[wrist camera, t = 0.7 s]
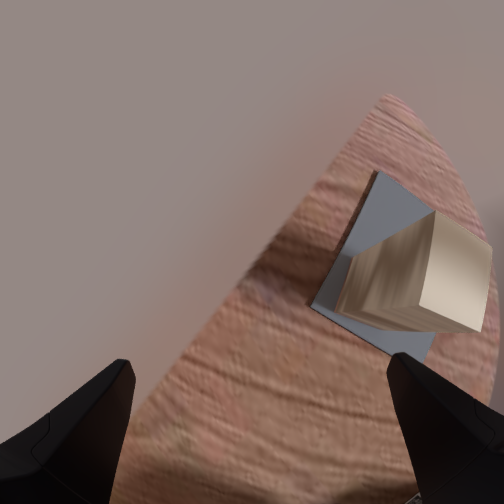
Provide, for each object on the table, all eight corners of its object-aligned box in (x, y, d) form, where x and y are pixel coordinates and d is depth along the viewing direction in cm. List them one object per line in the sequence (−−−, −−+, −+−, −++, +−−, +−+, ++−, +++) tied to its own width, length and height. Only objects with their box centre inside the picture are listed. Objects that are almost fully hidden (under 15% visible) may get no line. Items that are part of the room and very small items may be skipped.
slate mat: (463, 239, 26) (465, 238, 25) (416, 370, 22) (418, 371, 22) (378, 171, 26) (379, 170, 26) (309, 306, 23) (310, 306, 23)
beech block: (382, 330, 23) (480, 332, 11) (333, 312, 23) (418, 305, 11) (397, 277, 24) (492, 247, 12) (351, 257, 24) (435, 209, 12)
